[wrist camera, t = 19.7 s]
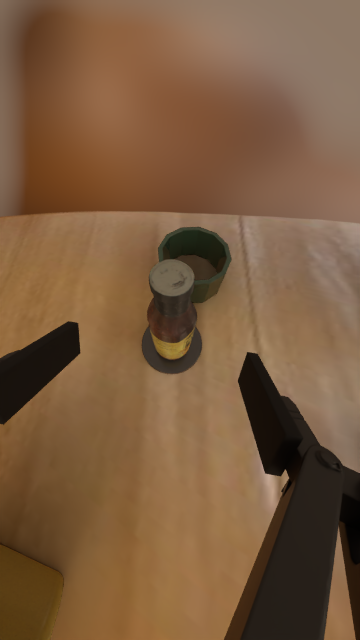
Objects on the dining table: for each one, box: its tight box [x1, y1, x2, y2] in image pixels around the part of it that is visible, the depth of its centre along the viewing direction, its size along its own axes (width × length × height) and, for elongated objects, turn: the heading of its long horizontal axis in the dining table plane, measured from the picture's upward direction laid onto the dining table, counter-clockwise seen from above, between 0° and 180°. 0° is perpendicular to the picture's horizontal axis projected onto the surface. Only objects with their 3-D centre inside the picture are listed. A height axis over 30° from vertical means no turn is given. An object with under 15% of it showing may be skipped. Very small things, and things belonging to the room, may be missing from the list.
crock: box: [158, 227, 231, 303], centre depth 38 cm, size 13×13×7 cm
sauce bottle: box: [147, 259, 197, 360], centre depth 25 cm, size 6×6×20 cm
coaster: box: [142, 327, 202, 374], centre depth 35 cm, size 11×11×1 cm
